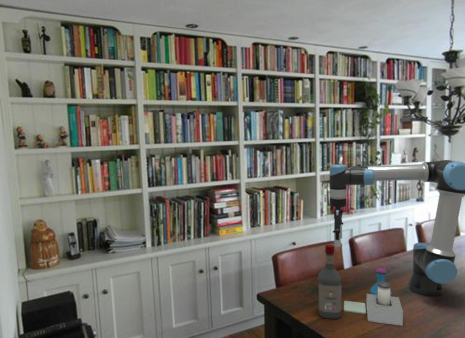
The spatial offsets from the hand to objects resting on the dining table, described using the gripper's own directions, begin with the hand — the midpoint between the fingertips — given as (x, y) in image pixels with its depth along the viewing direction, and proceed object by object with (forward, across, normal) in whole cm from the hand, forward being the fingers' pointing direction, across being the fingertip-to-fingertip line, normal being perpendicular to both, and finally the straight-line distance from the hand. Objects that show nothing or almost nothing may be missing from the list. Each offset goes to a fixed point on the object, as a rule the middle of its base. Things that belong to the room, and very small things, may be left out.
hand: (338, 242), depth 166 cm
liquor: (+27, +18, -3) cm, 32 cm away
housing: (+27, +13, +19) cm, 35 cm away
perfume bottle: (+27, -1, +19) cm, 33 cm away
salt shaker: (+25, +13, +19) cm, 34 cm away
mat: (+26, +10, +7) cm, 29 cm away
